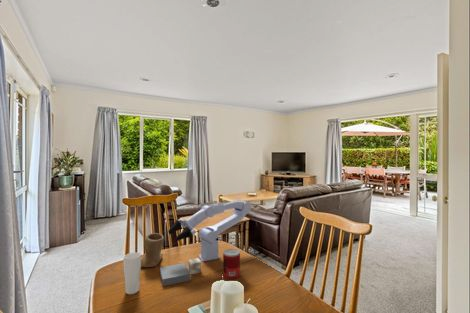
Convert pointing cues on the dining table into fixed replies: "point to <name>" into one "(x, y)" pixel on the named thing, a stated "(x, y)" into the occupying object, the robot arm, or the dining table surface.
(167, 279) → the base
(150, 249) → the stone cup
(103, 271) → the dining table surface
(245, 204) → the robot arm
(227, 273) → the canned food
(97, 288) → the dining table surface
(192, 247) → the dining table surface
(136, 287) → the drinking glass
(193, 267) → the cube
